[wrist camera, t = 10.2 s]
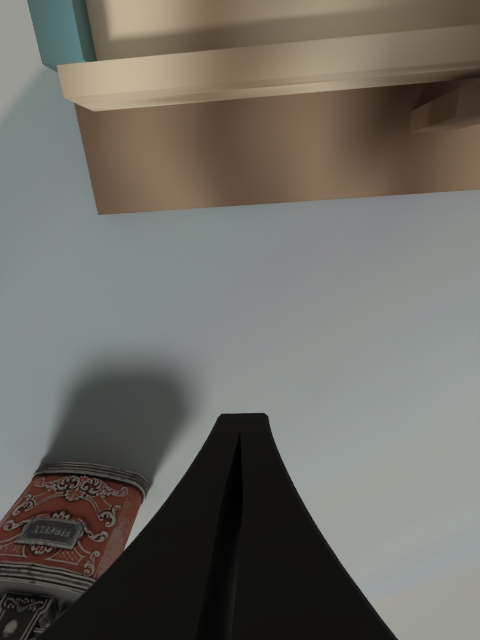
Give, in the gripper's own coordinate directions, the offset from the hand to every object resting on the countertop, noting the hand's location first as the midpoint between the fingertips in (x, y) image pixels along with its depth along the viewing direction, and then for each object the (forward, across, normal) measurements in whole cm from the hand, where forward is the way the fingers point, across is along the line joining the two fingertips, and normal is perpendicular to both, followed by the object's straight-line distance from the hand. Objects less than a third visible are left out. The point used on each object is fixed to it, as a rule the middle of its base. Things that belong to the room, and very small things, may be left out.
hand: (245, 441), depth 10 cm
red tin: (+10, +12, +12) cm, 19 cm away
